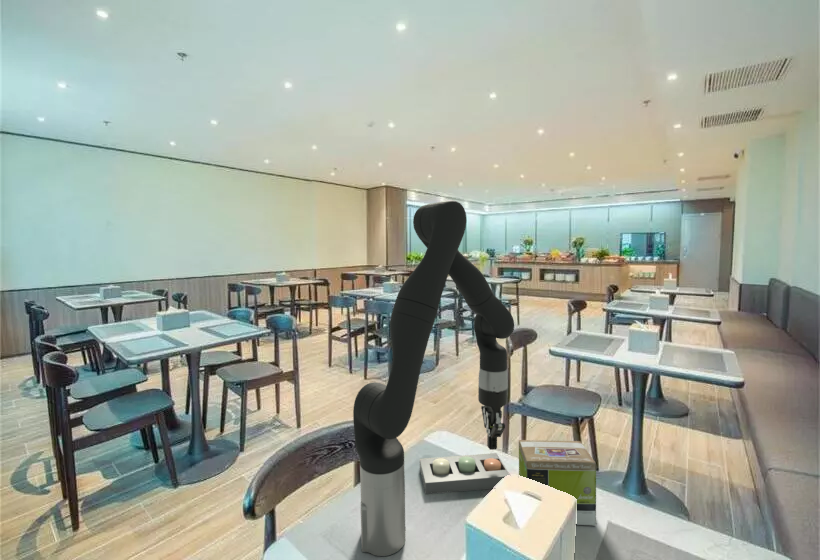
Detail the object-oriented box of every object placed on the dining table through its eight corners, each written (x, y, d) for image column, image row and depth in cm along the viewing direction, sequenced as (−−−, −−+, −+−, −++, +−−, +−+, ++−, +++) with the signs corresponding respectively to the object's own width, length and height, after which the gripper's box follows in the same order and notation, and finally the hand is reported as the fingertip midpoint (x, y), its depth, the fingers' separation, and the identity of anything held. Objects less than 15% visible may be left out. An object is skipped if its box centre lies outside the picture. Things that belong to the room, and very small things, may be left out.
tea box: (580, 497, 93) (582, 439, 92) (596, 527, 83) (598, 463, 82) (517, 494, 95) (518, 437, 94) (525, 523, 85) (526, 460, 84)
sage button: (460, 475, 100) (460, 466, 99) (457, 466, 104) (456, 457, 104) (477, 474, 100) (477, 465, 100) (472, 465, 104) (472, 455, 104)
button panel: (425, 494, 95) (425, 482, 95) (419, 469, 106) (419, 458, 106) (510, 487, 98) (510, 475, 98) (496, 463, 109) (496, 453, 108)
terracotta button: (486, 477, 100) (487, 468, 100) (482, 467, 105) (482, 458, 105) (503, 476, 101) (503, 466, 101) (497, 466, 105) (497, 457, 105)
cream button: (434, 477, 99) (434, 468, 99) (431, 468, 103) (431, 459, 103) (451, 476, 99) (451, 467, 99) (447, 466, 104) (447, 457, 103)
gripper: (472, 377, 107) (471, 437, 108) (486, 395, 94) (485, 462, 95) (498, 376, 108) (497, 435, 109) (516, 393, 95) (515, 460, 96)
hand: (492, 448), depth 102 cm, fingers closed
